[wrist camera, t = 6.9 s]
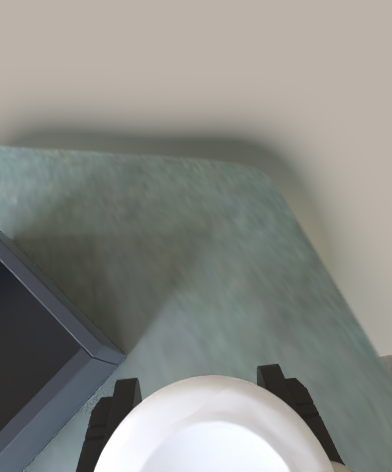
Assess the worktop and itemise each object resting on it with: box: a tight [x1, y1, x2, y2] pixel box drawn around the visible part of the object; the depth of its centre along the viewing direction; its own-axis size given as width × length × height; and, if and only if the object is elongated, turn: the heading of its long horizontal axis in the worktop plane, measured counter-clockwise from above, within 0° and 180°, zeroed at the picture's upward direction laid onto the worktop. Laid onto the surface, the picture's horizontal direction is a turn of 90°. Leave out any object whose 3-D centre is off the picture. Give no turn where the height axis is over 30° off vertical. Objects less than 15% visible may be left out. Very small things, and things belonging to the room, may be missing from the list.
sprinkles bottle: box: [94, 375, 334, 472], centre depth 11 cm, size 5×5×13 cm
